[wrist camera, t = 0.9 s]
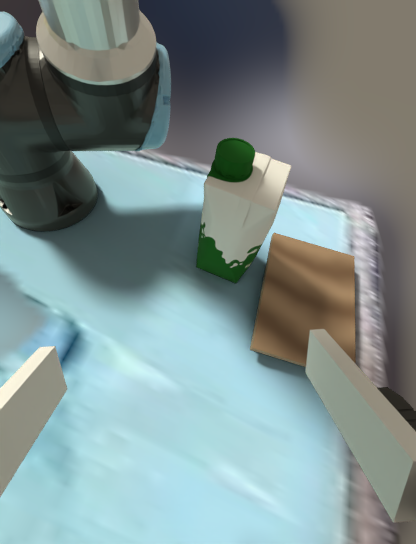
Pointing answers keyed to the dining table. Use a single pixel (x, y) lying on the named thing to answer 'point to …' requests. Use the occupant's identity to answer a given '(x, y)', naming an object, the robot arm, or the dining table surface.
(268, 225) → the soya milk
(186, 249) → the dining table surface
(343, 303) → the stand
